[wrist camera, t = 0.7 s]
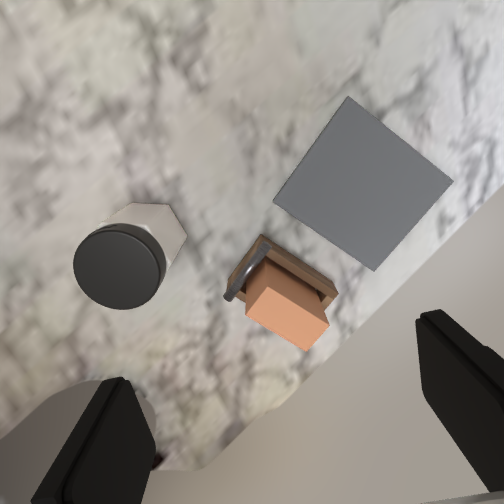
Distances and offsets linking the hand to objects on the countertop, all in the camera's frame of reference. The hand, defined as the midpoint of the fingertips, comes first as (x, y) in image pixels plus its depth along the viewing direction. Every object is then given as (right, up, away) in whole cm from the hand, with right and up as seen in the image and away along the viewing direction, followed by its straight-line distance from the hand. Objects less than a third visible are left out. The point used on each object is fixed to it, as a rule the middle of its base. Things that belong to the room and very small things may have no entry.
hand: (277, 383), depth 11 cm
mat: (+12, +11, +30) cm, 35 cm away
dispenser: (+3, 0, +34) cm, 35 cm away
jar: (-13, +6, +32) cm, 36 cm away
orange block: (+3, 0, +34) cm, 35 cm away
